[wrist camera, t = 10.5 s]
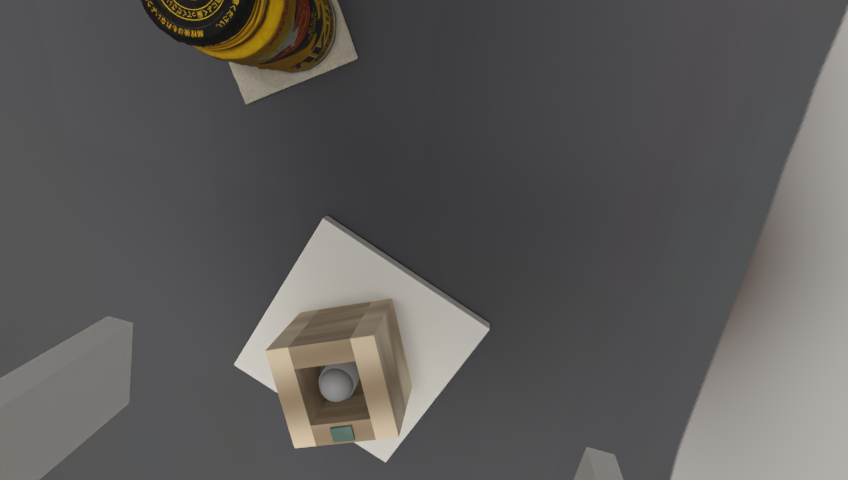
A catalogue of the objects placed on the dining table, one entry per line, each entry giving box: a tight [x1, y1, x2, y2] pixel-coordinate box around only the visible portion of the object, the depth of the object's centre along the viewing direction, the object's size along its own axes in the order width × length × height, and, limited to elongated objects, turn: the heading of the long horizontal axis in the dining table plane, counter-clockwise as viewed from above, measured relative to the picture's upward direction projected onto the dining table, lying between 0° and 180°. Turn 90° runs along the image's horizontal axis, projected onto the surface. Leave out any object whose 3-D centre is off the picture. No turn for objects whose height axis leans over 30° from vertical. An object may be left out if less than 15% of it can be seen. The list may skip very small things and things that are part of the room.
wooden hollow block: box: [265, 299, 412, 448], centre depth 33 cm, size 7×7×6 cm
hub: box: [234, 215, 490, 463], centre depth 34 cm, size 14×14×7 cm
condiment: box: [141, 0, 358, 104], centre depth 27 cm, size 7×8×12 cm
